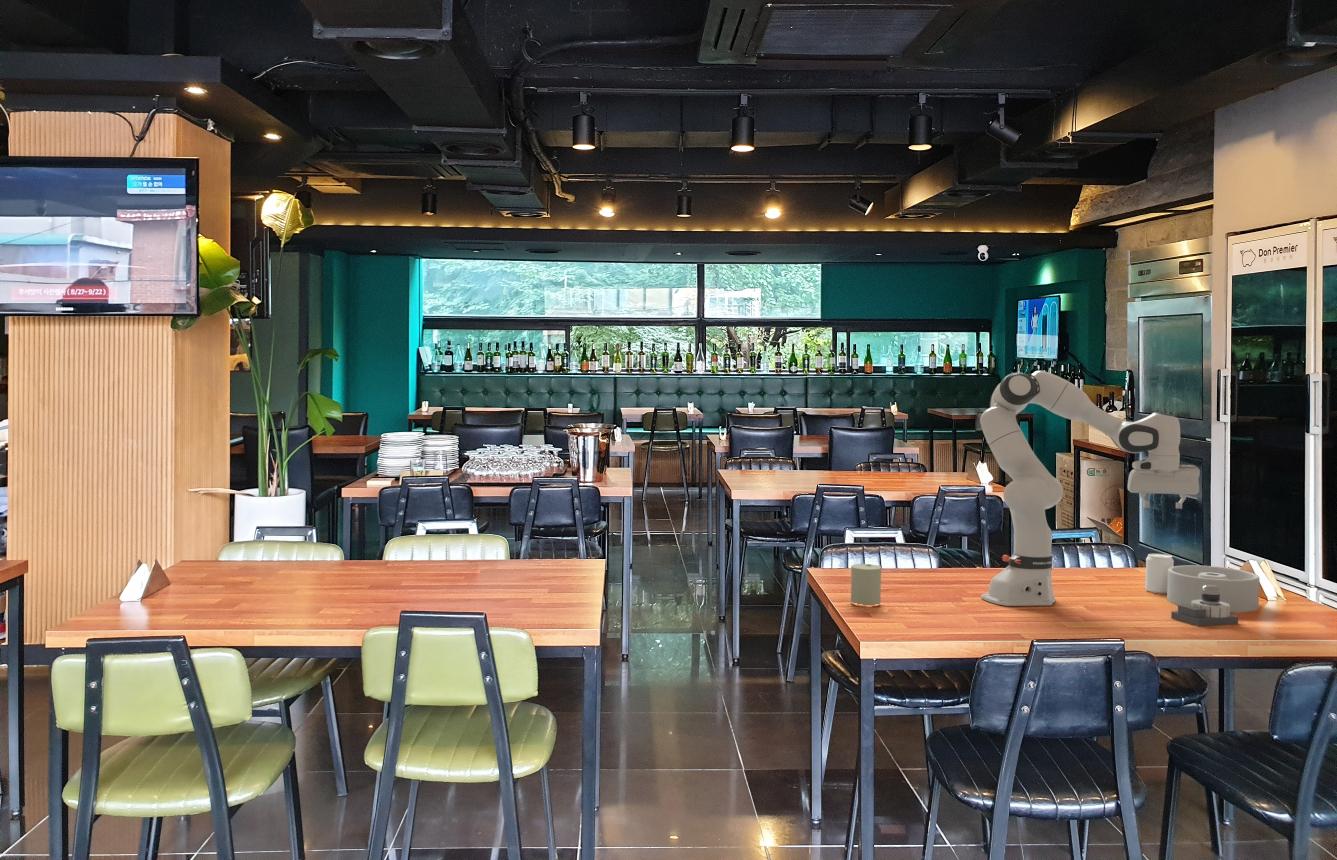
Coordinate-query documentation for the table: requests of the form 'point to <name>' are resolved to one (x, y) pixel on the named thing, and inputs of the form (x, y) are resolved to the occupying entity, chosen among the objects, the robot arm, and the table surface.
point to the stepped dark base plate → (1204, 614)
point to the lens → (1210, 594)
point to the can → (866, 584)
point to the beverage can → (1157, 572)
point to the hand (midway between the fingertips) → (1162, 507)
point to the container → (1233, 584)
